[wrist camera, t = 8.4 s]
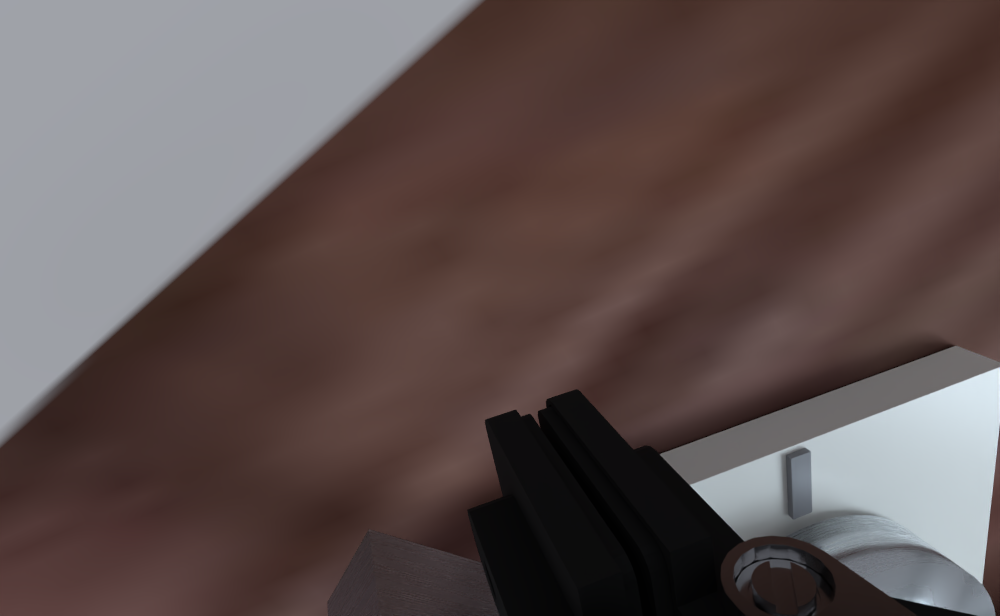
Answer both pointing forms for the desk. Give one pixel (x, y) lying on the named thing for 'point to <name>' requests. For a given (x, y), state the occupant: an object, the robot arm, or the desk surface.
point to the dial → (850, 539)
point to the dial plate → (866, 457)
